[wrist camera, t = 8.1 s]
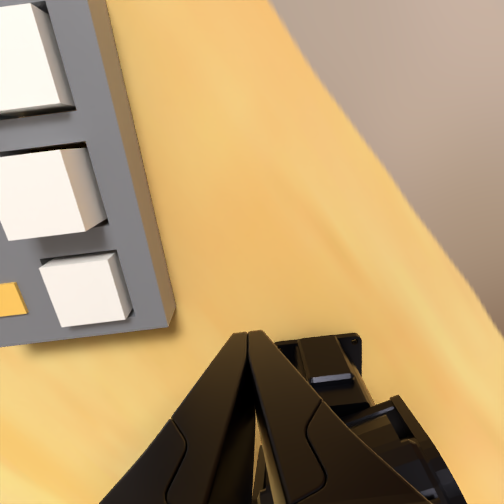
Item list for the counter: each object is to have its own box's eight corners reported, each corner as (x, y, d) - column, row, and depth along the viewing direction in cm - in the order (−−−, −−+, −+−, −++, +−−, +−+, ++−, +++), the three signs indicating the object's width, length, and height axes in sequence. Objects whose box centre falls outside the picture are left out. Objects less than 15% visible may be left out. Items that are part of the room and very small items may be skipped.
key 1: (89, 108, 17) (59, 102, 14) (21, 117, 17) (-22, 113, 14) (67, 26, 16) (30, 2, 13) (-7, 36, 16) (-60, 15, 13)
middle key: (109, 216, 18) (85, 231, 15) (44, 224, 18) (8, 240, 15) (90, 147, 17) (59, 149, 14) (20, 156, 17) (-25, 160, 14)
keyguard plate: (176, 306, 22) (167, 329, 19) (20, 325, 22) (-9, 349, 20) (103, -9, 16) (76, -36, 13) (-114, 20, 16) (-181, -2, 13)
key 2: (140, 295, 21) (125, 319, 18) (85, 302, 21) (61, 327, 19) (126, 242, 20) (107, 259, 17) (67, 249, 20) (38, 268, 17)
